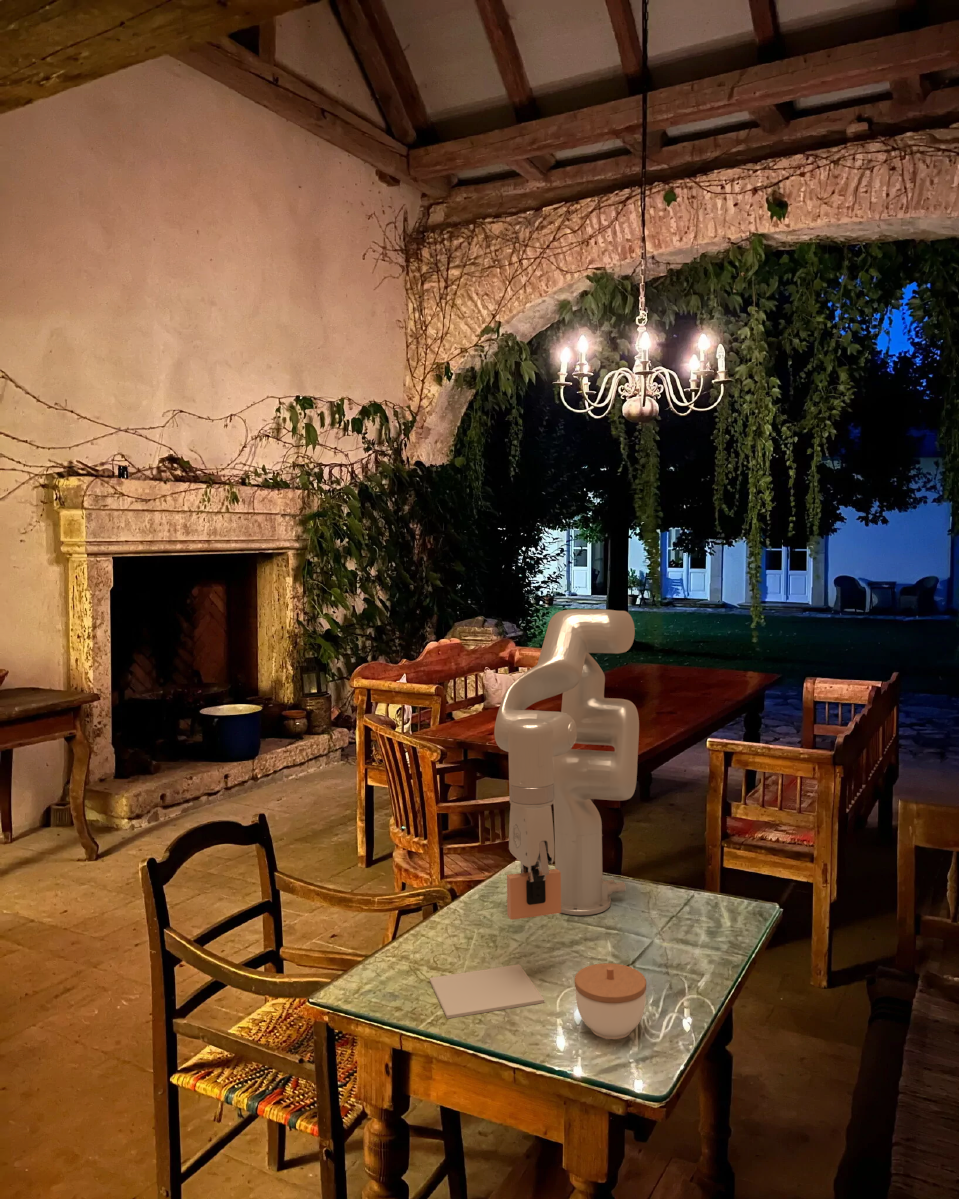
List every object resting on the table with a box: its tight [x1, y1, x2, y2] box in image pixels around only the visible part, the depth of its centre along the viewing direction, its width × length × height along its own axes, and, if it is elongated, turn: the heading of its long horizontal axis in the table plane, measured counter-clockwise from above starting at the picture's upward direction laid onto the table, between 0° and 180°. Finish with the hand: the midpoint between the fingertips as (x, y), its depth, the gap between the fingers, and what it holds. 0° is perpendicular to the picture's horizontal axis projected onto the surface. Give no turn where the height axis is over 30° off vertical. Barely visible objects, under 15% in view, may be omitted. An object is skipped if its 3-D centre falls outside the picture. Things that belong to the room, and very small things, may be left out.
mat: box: [429, 964, 545, 1019], centre depth 151 cm, size 16×13×1 cm
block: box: [506, 868, 562, 921], centre depth 155 cm, size 9×2×7 cm, turn 107°
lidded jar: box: [574, 962, 647, 1040], centre depth 139 cm, size 11×11×9 cm
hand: (533, 900), depth 155 cm, fingers closed on block, 1 cm apart
